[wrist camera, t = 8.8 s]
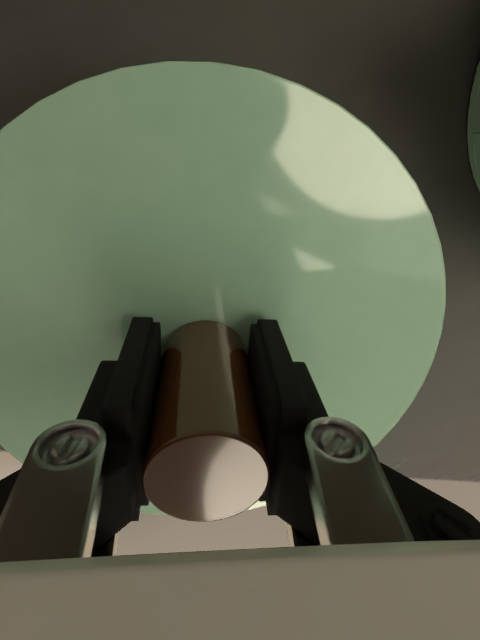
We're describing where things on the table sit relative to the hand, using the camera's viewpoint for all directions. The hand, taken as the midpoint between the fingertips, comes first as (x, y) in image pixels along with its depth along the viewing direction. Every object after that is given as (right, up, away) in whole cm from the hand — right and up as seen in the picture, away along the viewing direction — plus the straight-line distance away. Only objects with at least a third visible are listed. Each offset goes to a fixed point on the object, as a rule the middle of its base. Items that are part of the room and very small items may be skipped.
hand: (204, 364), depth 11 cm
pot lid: (0, 0, +1) cm, 1 cm away
